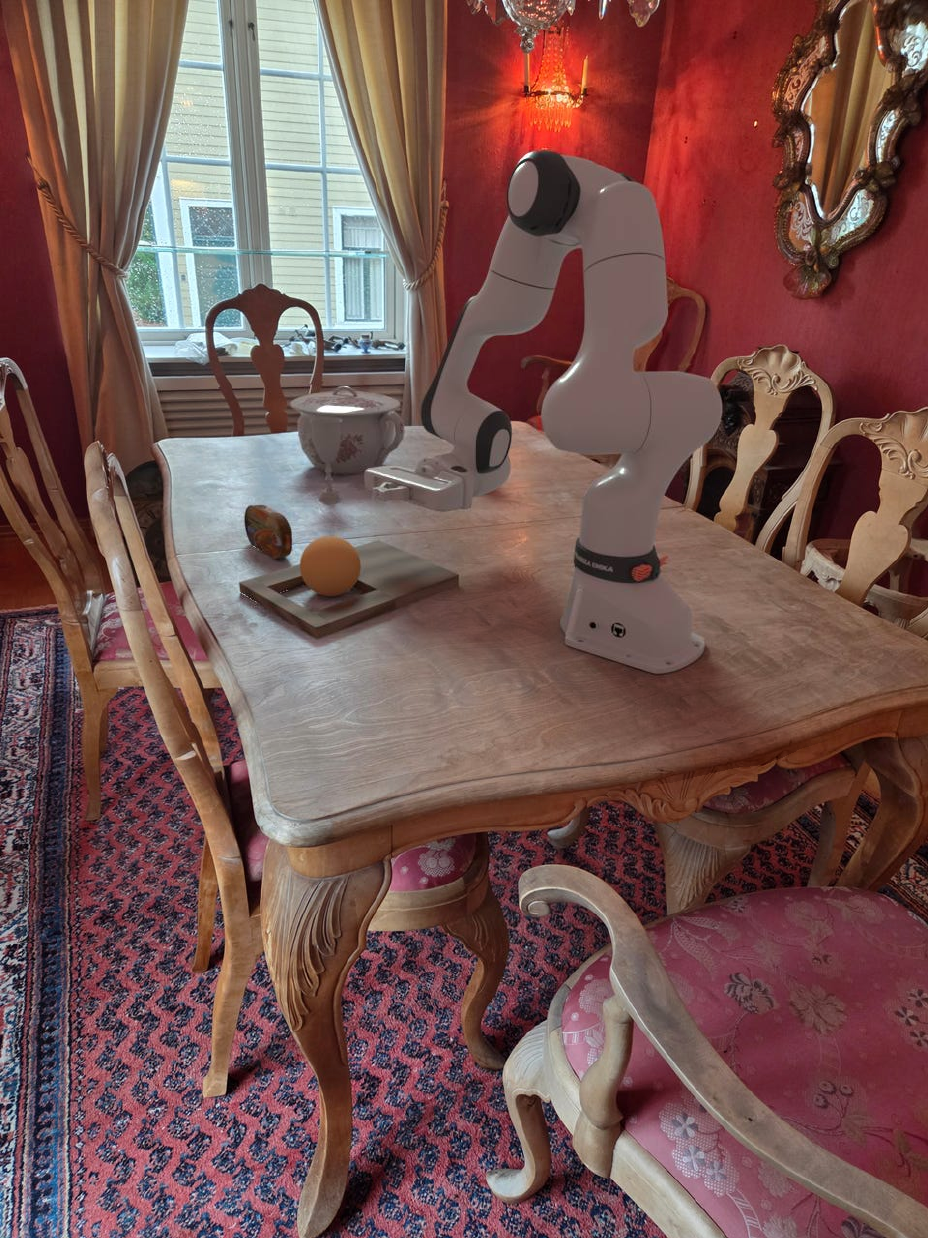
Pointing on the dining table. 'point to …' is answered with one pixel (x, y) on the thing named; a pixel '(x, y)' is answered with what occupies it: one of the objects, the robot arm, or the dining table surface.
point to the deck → (382, 580)
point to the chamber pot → (352, 428)
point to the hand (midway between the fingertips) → (377, 495)
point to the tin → (268, 531)
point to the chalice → (327, 450)
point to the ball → (330, 566)
